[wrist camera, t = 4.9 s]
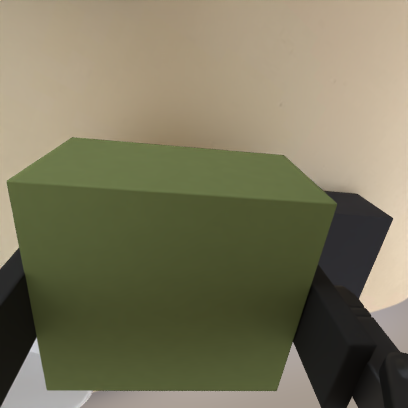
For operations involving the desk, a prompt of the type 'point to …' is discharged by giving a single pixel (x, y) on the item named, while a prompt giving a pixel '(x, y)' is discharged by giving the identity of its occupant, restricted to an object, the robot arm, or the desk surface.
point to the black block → (353, 241)
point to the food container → (39, 388)
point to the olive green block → (166, 264)
